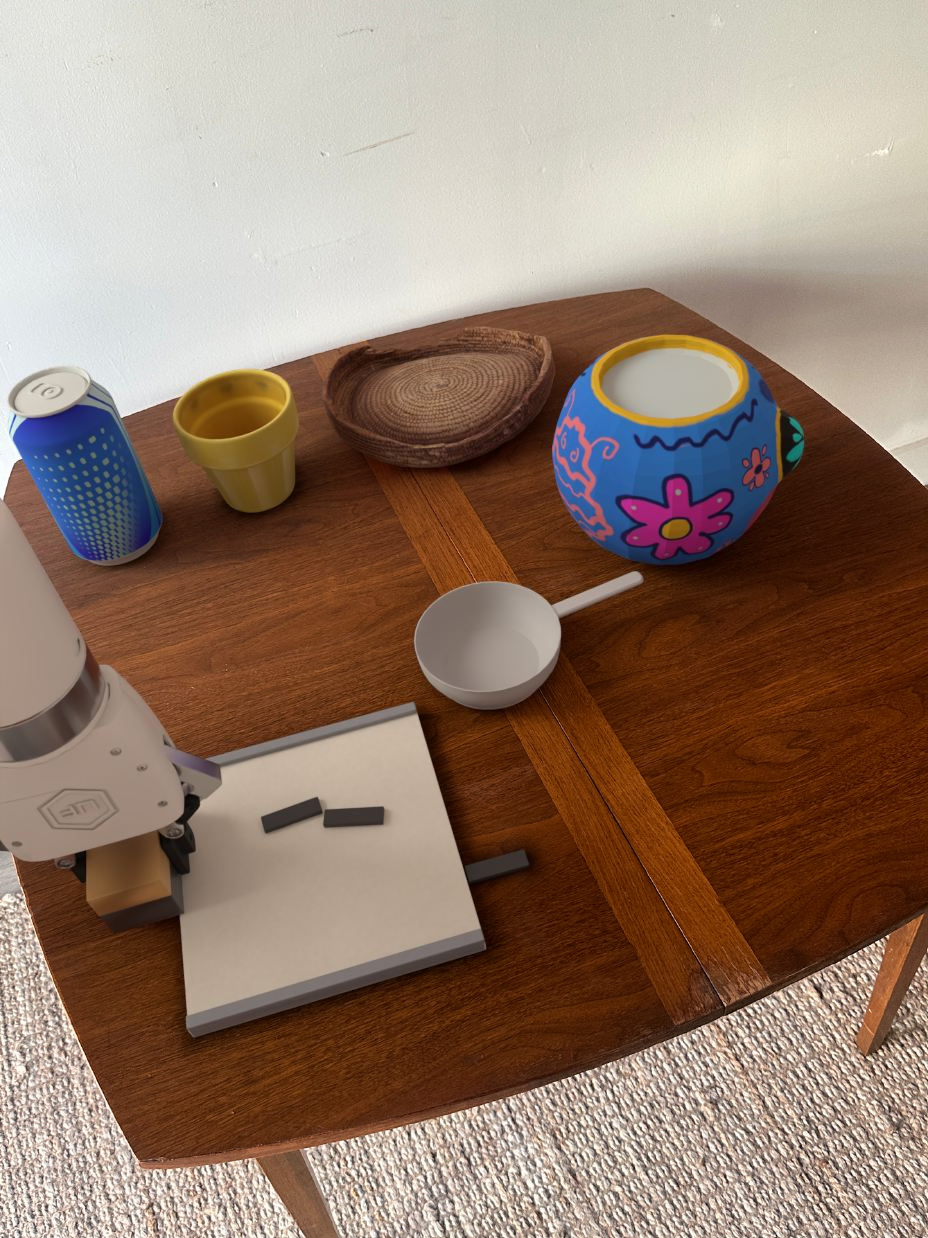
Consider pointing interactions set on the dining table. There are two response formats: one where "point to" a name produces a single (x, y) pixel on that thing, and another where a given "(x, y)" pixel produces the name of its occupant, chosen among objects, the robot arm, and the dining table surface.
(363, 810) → the marker stroke
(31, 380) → the beer can
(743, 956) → the dining table surface
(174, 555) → the dining table surface
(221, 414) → the flower pot
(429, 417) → the basket
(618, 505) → the ceramic pot
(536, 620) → the saucepan
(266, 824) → the bar
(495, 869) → the block
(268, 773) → the whiteboard
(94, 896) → the eraser
